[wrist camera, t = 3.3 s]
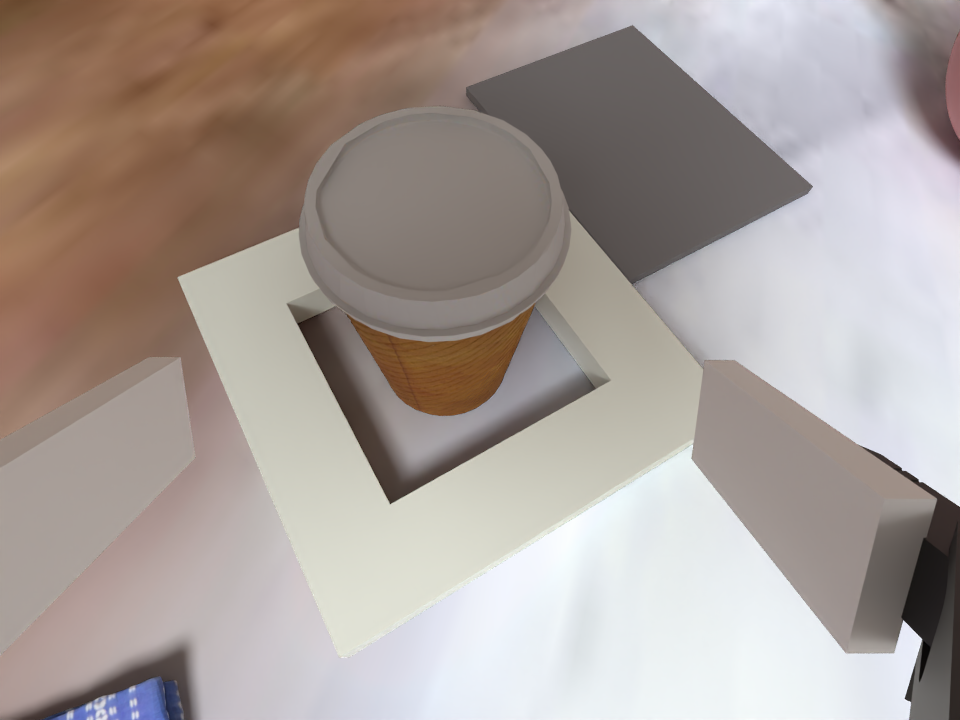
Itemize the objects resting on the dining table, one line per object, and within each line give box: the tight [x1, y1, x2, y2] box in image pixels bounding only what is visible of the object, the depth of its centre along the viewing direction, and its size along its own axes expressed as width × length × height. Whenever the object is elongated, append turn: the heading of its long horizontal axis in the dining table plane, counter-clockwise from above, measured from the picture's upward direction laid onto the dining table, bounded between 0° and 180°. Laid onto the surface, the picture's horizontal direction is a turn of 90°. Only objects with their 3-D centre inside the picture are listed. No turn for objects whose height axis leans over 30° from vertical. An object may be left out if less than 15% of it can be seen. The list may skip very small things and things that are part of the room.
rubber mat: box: [466, 25, 813, 284], centre depth 37 cm, size 18×14×1 cm
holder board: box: [177, 211, 703, 658], centre depth 29 cm, size 20×20×2 cm
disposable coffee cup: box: [299, 106, 571, 416], centre depth 25 cm, size 10×10×12 cm
